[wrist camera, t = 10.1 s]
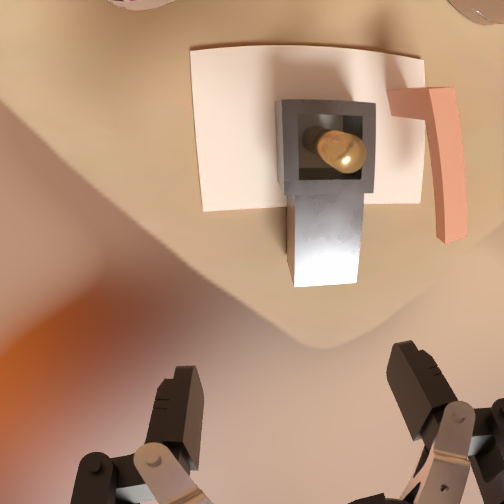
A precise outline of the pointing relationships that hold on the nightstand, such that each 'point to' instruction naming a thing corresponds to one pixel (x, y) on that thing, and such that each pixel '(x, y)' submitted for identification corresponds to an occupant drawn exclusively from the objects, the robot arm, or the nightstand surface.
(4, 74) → the nightstand surface
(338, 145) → the cylinder
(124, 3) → the supplement can
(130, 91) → the nightstand surface
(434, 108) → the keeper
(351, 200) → the link
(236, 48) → the board
